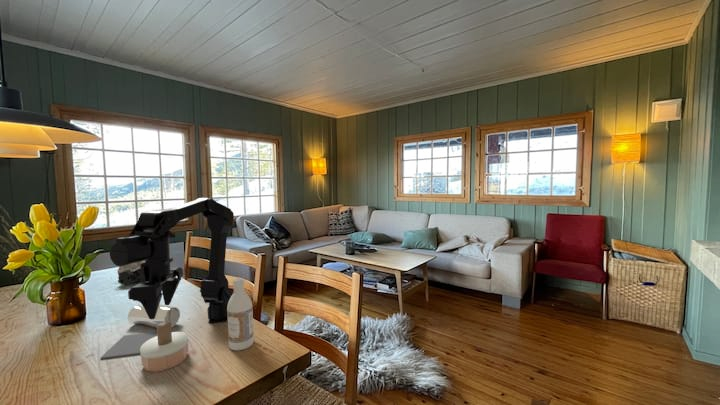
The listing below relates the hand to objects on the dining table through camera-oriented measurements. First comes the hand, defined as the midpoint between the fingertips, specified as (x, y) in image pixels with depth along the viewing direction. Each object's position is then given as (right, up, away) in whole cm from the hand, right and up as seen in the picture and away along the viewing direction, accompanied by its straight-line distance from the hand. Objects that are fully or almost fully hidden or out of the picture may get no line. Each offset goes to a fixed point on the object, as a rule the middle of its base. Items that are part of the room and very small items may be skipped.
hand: (160, 311), depth 82 cm
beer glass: (-22, -9, +20) cm, 31 cm away
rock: (-55, -9, +65) cm, 85 cm away
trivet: (-12, -13, +7) cm, 19 cm away
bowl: (+2, -13, -1) cm, 13 cm away
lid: (+2, -9, -1) cm, 9 cm away
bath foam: (+20, -12, +6) cm, 24 cm away
